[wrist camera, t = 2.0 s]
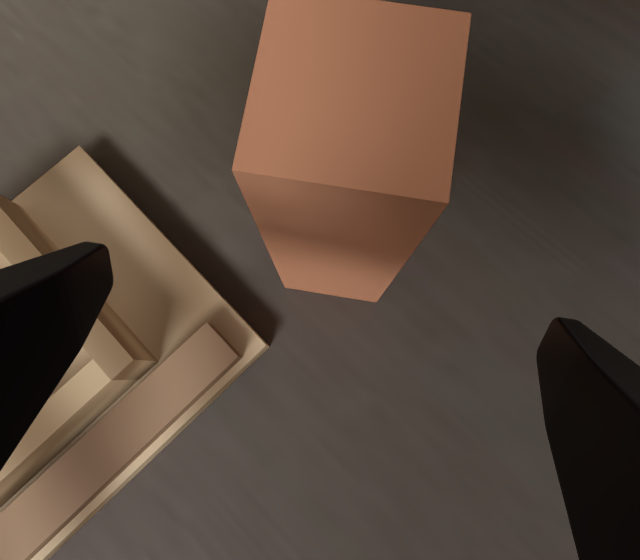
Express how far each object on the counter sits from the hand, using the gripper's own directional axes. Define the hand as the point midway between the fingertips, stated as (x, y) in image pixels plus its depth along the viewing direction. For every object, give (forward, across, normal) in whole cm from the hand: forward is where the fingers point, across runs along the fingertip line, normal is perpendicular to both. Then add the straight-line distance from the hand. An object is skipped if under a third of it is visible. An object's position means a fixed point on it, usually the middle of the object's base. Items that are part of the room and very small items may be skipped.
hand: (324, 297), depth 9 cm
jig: (+5, +12, +10) cm, 16 cm away
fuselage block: (+10, 0, +5) cm, 11 cm away
